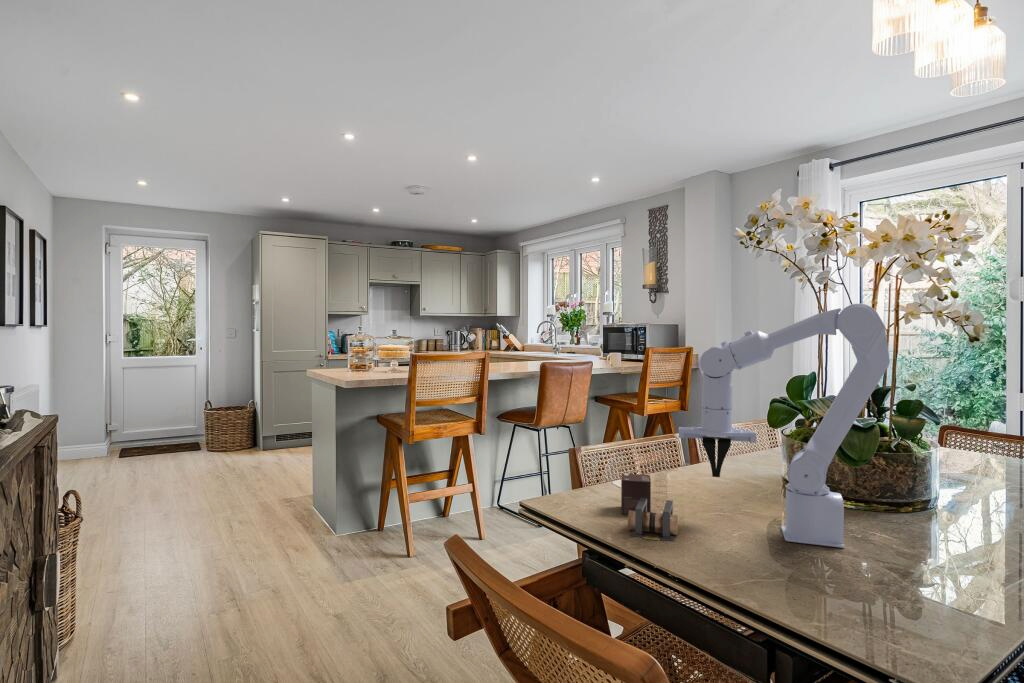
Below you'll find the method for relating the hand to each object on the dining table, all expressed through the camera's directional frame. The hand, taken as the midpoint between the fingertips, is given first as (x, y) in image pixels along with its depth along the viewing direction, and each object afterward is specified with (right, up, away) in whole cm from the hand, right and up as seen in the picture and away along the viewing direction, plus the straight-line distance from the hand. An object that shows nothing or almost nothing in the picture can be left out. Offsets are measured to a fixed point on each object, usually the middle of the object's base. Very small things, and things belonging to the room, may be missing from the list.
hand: (716, 475), depth 116 cm
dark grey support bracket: (-11, -9, -5) cm, 15 cm away
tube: (-14, -9, -5) cm, 17 cm away
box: (-14, -10, +7) cm, 19 cm away
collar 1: (-16, -9, -4) cm, 19 cm away
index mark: (-15, -10, -9) cm, 20 cm away
